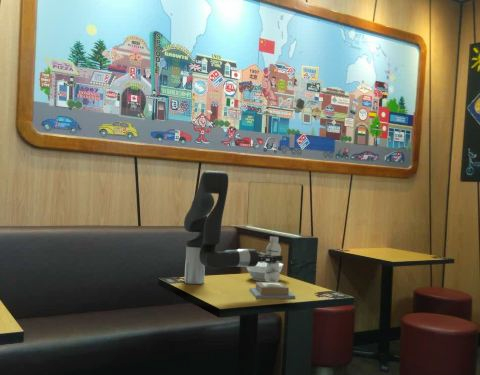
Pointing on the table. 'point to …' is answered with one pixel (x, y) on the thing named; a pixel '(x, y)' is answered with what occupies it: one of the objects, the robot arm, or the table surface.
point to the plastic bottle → (273, 267)
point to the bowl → (260, 271)
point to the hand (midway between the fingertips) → (277, 257)
